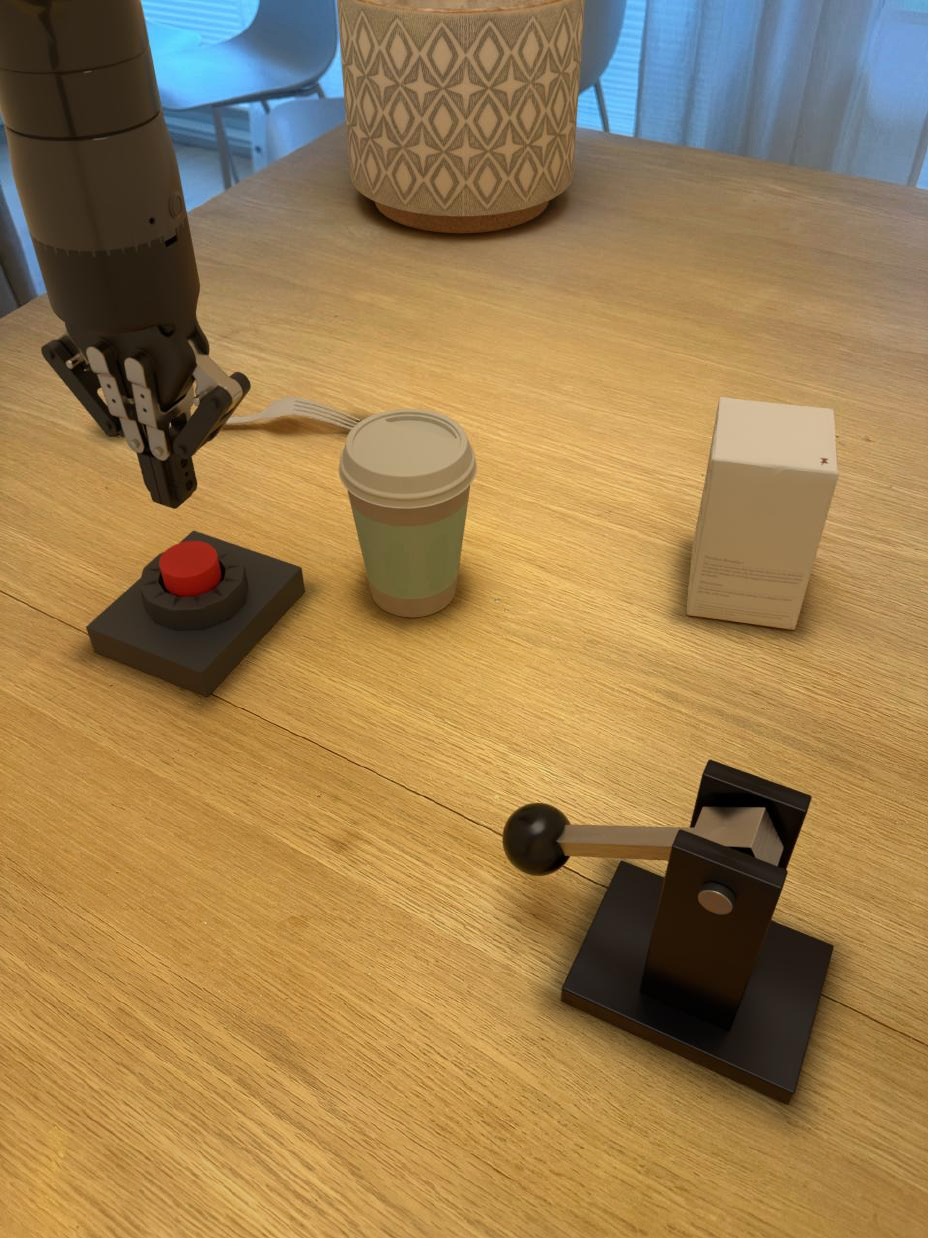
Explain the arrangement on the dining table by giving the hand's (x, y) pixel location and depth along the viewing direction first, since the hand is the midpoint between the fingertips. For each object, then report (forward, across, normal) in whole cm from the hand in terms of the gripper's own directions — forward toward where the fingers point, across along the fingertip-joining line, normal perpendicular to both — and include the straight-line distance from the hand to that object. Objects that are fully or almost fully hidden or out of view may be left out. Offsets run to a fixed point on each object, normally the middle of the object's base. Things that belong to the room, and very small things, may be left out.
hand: (174, 498), depth 63 cm
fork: (+10, -12, +20) cm, 25 cm away
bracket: (+10, +37, -10) cm, 40 cm away
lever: (+3, +33, -10) cm, 35 cm away
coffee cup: (+10, +11, +9) cm, 17 cm away
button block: (+10, 0, 0) cm, 10 cm away
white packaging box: (+10, +31, +19) cm, 38 cm away
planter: (+10, -17, +72) cm, 75 cm away
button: (+6, 0, 0) cm, 6 cm away
